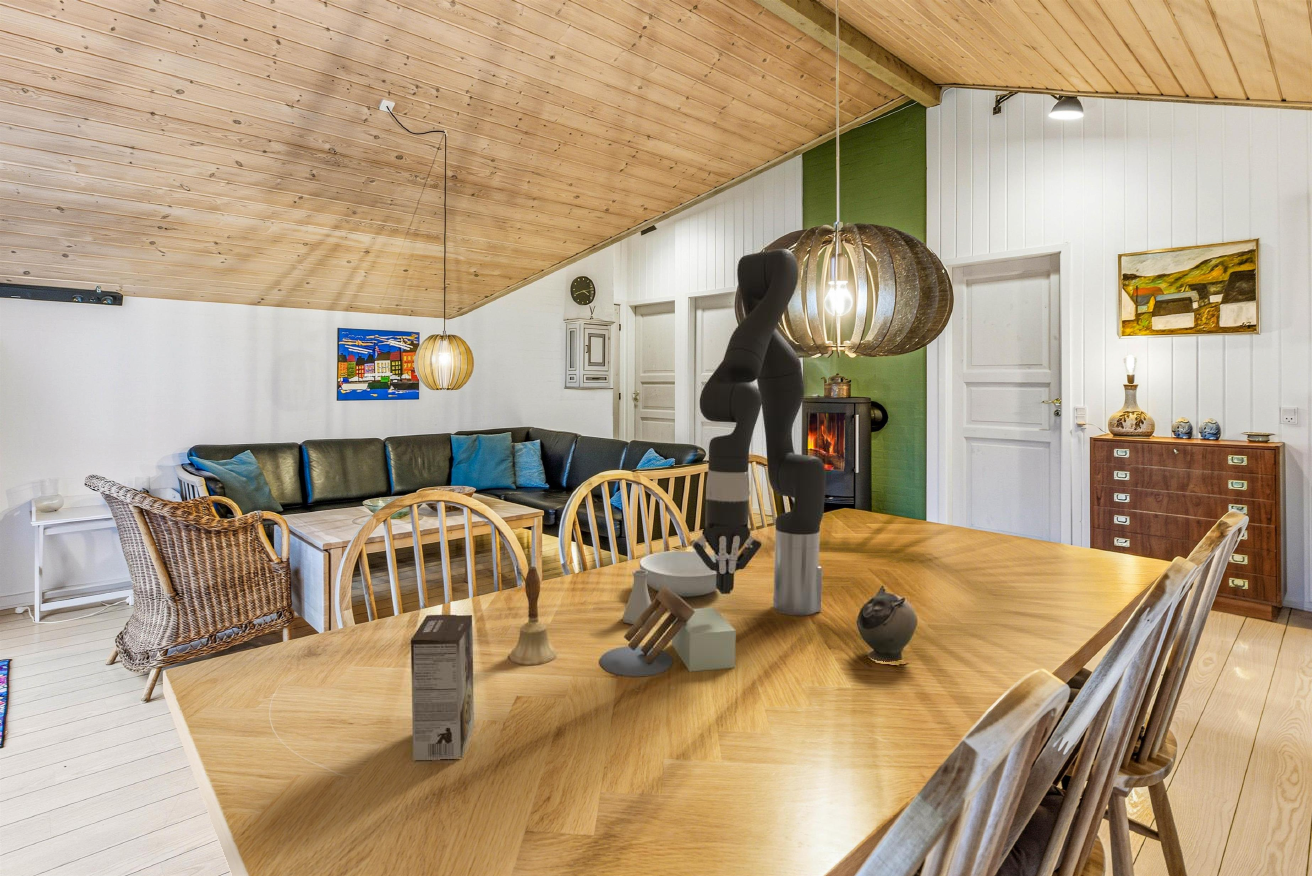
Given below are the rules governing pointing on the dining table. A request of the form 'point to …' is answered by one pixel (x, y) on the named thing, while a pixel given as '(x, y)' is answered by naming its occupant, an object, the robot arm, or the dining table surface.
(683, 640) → the box
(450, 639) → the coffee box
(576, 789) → the dining table surface
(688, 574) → the serving bowl
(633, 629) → the stool
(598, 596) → the dining table surface
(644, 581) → the flask
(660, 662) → the mat
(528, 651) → the hand bell
